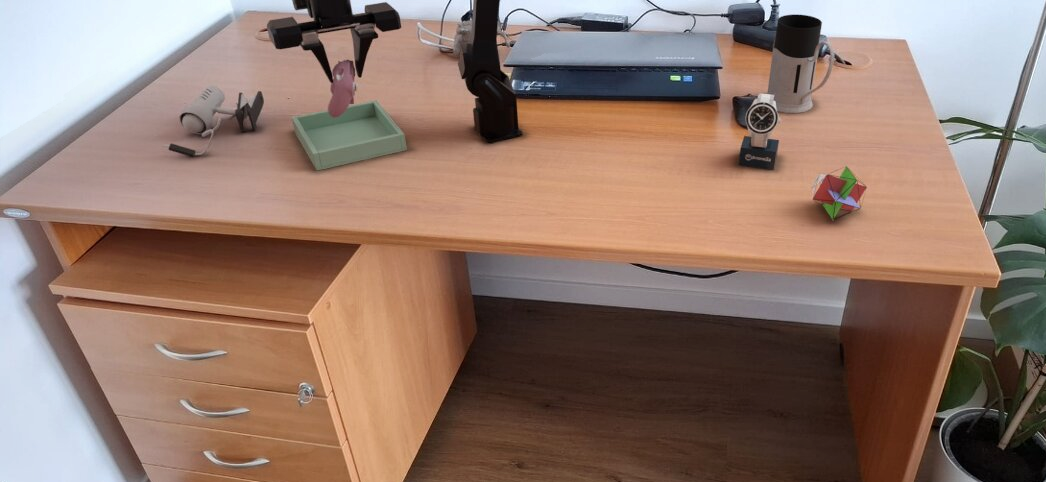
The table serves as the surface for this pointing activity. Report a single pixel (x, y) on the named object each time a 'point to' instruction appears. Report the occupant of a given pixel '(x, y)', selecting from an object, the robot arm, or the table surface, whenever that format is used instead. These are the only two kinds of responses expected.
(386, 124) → the tray
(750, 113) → the watch
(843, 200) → the geometric puzzle
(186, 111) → the clip-on lamp
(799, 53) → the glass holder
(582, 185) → the table surface
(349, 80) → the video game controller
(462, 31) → the elephant statuette
